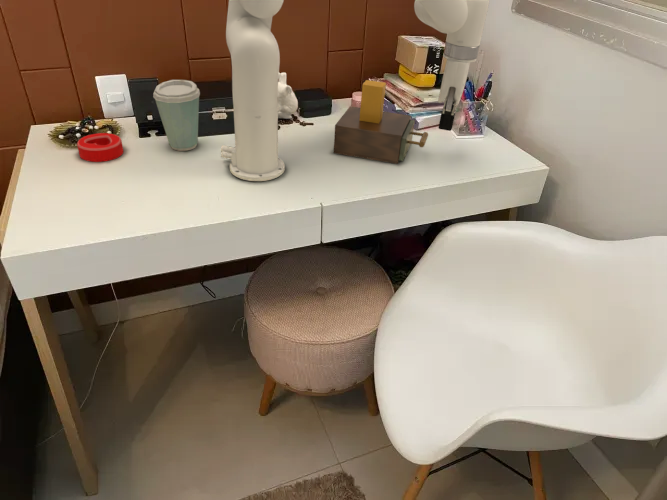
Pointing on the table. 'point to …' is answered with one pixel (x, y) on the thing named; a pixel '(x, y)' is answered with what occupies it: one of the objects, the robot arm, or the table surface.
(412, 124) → the drawer
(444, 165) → the table surface
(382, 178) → the table surface
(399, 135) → the cabinet
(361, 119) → the block
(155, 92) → the disposable coffee cup
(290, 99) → the white figurine
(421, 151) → the table surface
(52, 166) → the table surface
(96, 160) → the decorative ornament
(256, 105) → the robot arm
